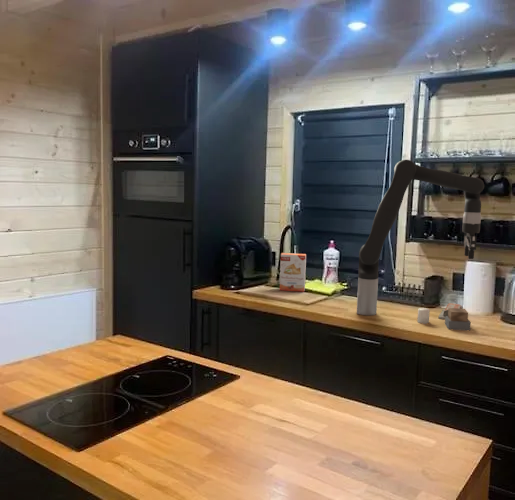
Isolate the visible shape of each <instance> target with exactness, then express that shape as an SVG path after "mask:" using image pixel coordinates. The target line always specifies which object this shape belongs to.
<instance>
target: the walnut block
mask: <svg viewBox="0 0 515 500" xmlns="http://www.w3.org/2000/svg"><path fill="white" fill-rule="evenodd" d="M448 318H449V319H450V320H451V321H463V322H468V320H469V312H468V311H467V310H466V308H462V309H458V308H448Z"/></svg>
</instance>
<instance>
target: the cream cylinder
mask: <svg viewBox="0 0 515 500" xmlns="http://www.w3.org/2000/svg"><path fill="white" fill-rule="evenodd" d="M430 311H431V310H430V308H428V307H427V308H426V307H419V308H418V309H417V321H416V322H417V323H418V324H422V323H423V324H424V325H427V323H428V324H429V323H430Z"/></svg>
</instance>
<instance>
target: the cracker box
mask: <svg viewBox="0 0 515 500" xmlns="http://www.w3.org/2000/svg"><path fill="white" fill-rule="evenodd" d="M306 266H307V254H306V253H292V252H291V253H289V252H281V253H280V266H279V268H280V270H279V271H280V272H279V291H287V292H288V291H289V292H300V293H301V292H302V293H304V292H305V290H306V270H307V269H306V268H307V267H306Z"/></svg>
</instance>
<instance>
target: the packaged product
mask: <svg viewBox="0 0 515 500" xmlns="http://www.w3.org/2000/svg"><path fill="white" fill-rule="evenodd" d="M448 308H458V309H463V307H462V305H461V304H459V303H451V302H450V303H447V305H446V307H443V309H442V310H441V312H440V313H439V315H438V319H439V320H444V321H445V316H448Z"/></svg>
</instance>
